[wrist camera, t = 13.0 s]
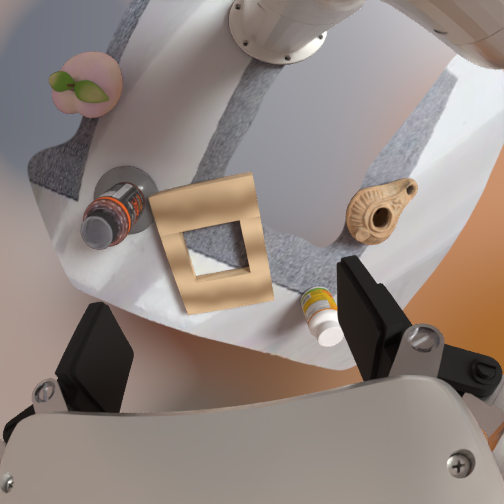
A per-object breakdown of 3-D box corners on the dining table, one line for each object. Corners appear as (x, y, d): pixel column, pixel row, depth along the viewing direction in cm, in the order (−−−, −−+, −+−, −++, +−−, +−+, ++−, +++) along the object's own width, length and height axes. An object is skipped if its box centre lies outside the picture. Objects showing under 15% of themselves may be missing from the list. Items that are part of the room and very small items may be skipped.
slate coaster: (87, 177, 37) (85, 178, 36) (149, 157, 37) (147, 158, 36) (108, 238, 42) (107, 240, 41) (167, 224, 41) (167, 226, 41)
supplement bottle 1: (149, 219, 40) (125, 258, 30) (111, 222, 40) (80, 260, 30) (143, 178, 37) (115, 205, 27) (104, 182, 37) (67, 211, 27)
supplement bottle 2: (331, 306, 51) (348, 344, 42) (302, 314, 51) (315, 354, 43) (328, 281, 48) (347, 319, 40) (297, 290, 49) (311, 329, 40)
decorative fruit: (143, 62, 30) (117, 50, 22) (125, 119, 34) (94, 125, 25) (84, 53, 28) (47, 44, 20) (68, 108, 32) (29, 113, 23)
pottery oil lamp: (418, 196, 42) (432, 231, 38) (352, 220, 47) (360, 256, 44) (408, 158, 36) (426, 195, 32) (333, 187, 41) (342, 226, 38)
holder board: (151, 193, 39) (148, 198, 37) (251, 171, 39) (252, 175, 37) (189, 307, 49) (188, 315, 47) (272, 292, 48) (274, 300, 47)
